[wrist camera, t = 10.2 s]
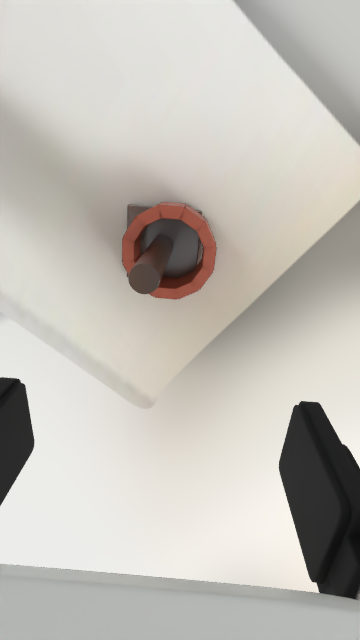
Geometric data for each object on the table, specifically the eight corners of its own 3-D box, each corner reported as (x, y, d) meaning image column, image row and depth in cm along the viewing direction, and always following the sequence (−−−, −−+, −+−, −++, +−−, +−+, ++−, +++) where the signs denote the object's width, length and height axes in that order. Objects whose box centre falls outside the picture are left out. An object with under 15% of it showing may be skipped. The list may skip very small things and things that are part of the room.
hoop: (129, 283, 38) (122, 294, 34) (130, 199, 34) (122, 201, 30) (208, 290, 38) (209, 302, 34) (218, 206, 34) (221, 209, 30)
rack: (128, 274, 38) (92, 322, 26) (129, 204, 35) (89, 219, 22) (194, 280, 38) (192, 332, 26) (201, 210, 35) (202, 229, 22)
